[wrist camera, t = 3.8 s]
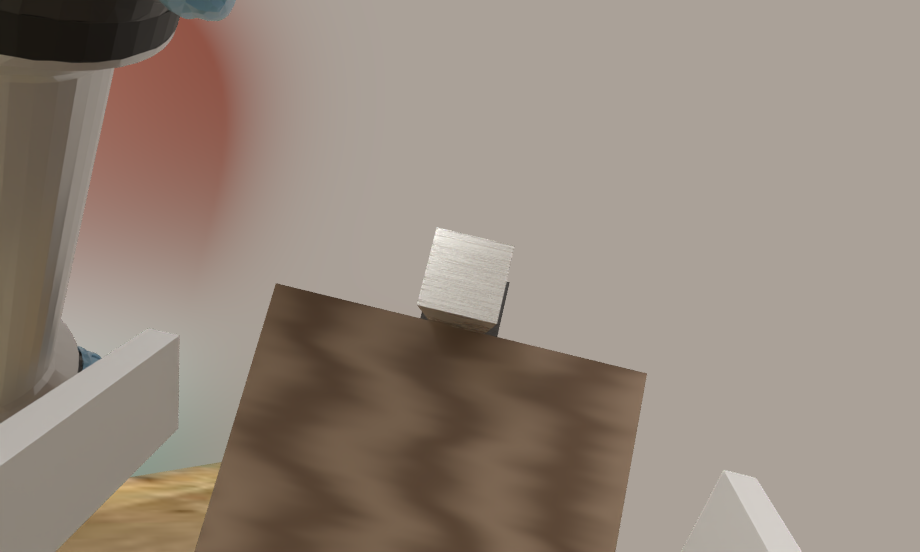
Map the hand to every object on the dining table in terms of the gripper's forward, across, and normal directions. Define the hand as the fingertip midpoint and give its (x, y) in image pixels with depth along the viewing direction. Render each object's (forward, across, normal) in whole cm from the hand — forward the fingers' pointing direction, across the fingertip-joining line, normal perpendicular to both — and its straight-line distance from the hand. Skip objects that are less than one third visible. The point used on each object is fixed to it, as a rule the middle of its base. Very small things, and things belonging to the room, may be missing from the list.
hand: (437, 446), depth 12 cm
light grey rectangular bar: (+18, 0, -6) cm, 19 cm away
